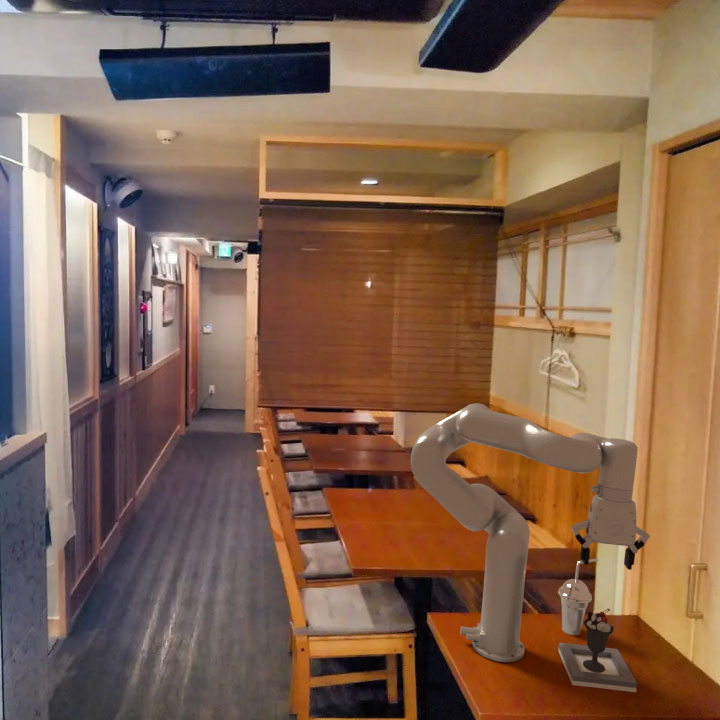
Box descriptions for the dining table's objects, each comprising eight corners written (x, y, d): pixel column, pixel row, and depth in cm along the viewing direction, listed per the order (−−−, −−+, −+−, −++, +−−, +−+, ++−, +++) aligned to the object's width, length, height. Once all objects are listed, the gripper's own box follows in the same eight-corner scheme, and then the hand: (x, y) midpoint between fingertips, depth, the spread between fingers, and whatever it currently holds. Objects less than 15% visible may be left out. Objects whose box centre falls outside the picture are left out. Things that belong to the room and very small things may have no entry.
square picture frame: (572, 684, 143) (573, 675, 142) (558, 651, 157) (559, 642, 156) (636, 692, 142) (637, 683, 141) (616, 657, 155) (617, 649, 155)
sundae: (611, 677, 145) (619, 614, 144) (581, 671, 146) (588, 609, 145) (606, 661, 151) (613, 601, 150) (577, 656, 153) (583, 597, 151)
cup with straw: (555, 619, 173) (562, 548, 171) (590, 627, 169) (598, 555, 167) (553, 634, 165) (560, 560, 163) (589, 643, 161) (598, 567, 159)
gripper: (580, 494, 142) (572, 567, 144) (659, 502, 141) (650, 576, 142) (571, 484, 149) (564, 554, 151) (647, 492, 148) (638, 562, 150)
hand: (606, 565), depth 147 cm, fingers open, 9 cm apart
